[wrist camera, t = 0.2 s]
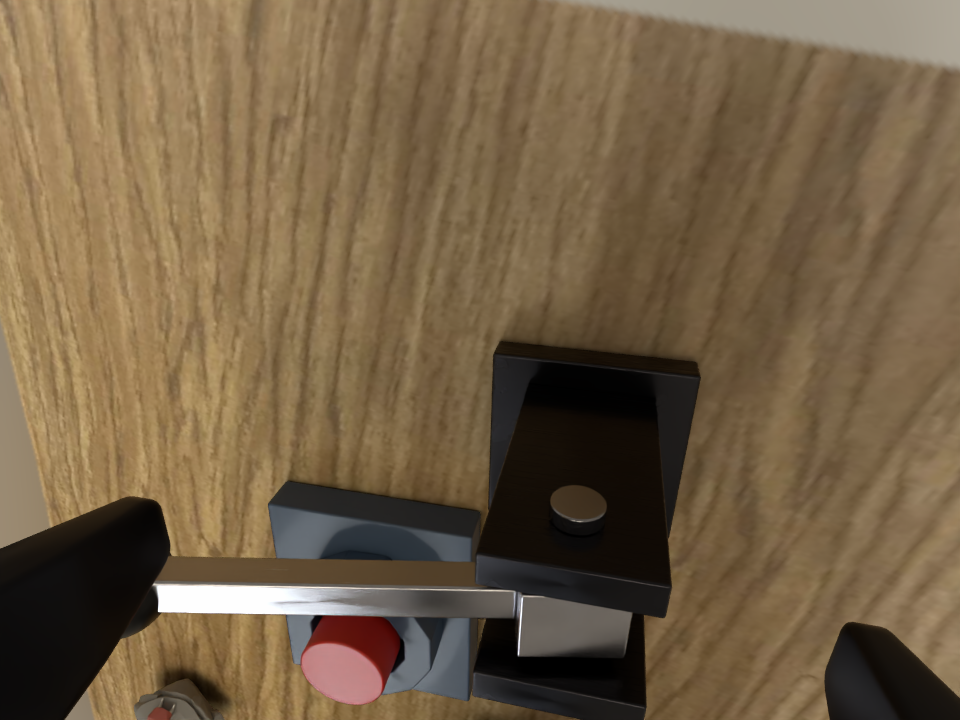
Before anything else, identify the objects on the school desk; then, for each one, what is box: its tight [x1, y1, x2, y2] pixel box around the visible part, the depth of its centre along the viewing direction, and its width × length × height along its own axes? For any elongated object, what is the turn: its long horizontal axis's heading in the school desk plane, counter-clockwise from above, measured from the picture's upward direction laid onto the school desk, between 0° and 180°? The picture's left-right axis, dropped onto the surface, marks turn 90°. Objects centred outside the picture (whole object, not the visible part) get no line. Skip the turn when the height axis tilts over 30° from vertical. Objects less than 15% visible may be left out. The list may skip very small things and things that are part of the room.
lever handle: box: [121, 553, 632, 659], centre depth 16 cm, size 15×3×3 cm, turn 89°
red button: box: [301, 616, 400, 705], centre depth 26 cm, size 4×4×2 cm
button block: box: [268, 481, 481, 701], centre depth 28 cm, size 10×9×4 cm
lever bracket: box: [472, 341, 701, 720], centre depth 19 cm, size 7×7×10 cm
